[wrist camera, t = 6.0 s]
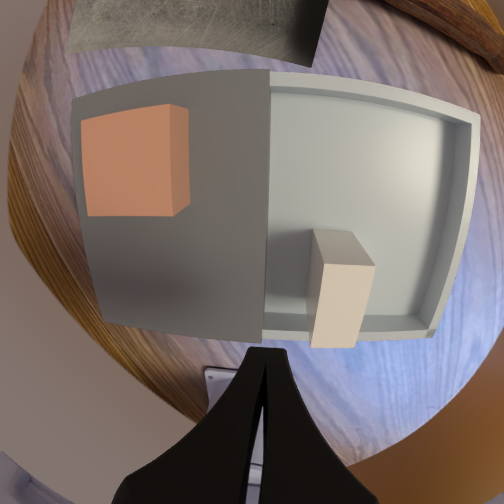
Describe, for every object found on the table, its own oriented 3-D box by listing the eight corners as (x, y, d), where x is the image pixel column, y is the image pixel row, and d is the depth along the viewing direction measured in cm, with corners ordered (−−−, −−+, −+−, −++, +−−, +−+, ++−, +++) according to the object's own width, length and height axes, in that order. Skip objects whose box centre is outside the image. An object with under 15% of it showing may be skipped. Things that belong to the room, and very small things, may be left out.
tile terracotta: (190, 203, 14) (173, 216, 12) (112, 204, 15) (88, 216, 12) (188, 109, 12) (170, 103, 10) (107, 120, 13) (80, 120, 10)
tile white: (304, 298, 19) (340, 299, 18) (310, 347, 14) (354, 347, 14) (313, 228, 17) (352, 231, 16) (324, 263, 12) (375, 266, 12)
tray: (421, 318, 19) (432, 337, 17) (264, 316, 20) (262, 338, 18) (459, 115, 13) (480, 114, 10) (271, 81, 14) (269, 71, 12)
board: (264, 316, 20) (261, 343, 17) (121, 301, 21) (103, 321, 18) (271, 81, 14) (269, 69, 11) (98, 101, 15) (72, 99, 12)
